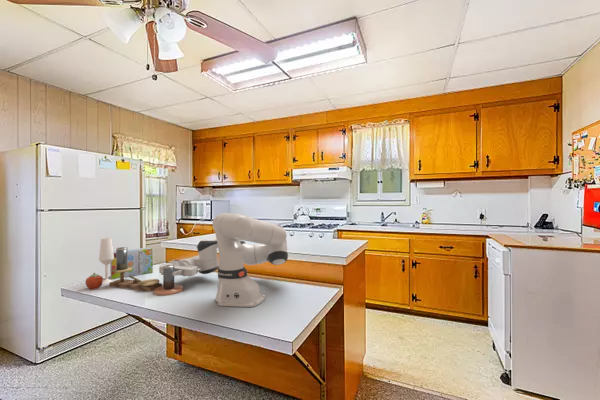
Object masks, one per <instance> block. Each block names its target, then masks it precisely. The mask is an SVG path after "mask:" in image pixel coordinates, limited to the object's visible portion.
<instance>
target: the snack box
mask: <svg viewBox="0 0 600 400" xmlns="http://www.w3.org/2000/svg"><path fill="white" fill-rule="evenodd" d="M113 254H114V259H113V261H112V262H111V263H110V264H109V265H110V271H109V272H110V278H111V280H114V278H115V279H120V273H113V272H112V270H113V269H115V268H116V250H113ZM153 265H154V263H153V248H152V247H144V248H143V247H141V248H133V249H128V267H132V270H131V271H128V272H124V278H126V277H129V276H130V275H131V276H133V277H134V276H139V275H145V274H151V273H153V272H154V269H153V268H154V266H153Z"/></svg>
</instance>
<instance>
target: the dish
mask: <svg viewBox="0 0 600 400" xmlns="http://www.w3.org/2000/svg"><path fill="white" fill-rule="evenodd" d="M183 291H184V286H183V285H181V284H178V283H177V284H176V283H174V288H173V289H170V290H164V289H163V285H162V286H160V287H158V288H156V289H155V290H154V291H153V294H154V295H156V296H172V295H175V294H176V295H177V294H179V293H180V292H183Z"/></svg>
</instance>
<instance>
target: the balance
mask: <svg viewBox="0 0 600 400" xmlns="http://www.w3.org/2000/svg"><path fill="white" fill-rule="evenodd" d="M131 270H132V267H128V269H126V270H116V268H115V269H113V270H112V272H113V273H120V278H118V279H117V280H112V281H113V282H110V283H109V284H108V285H109V287H110V286H111V287H112V288H120V289H126V288H127V289H128V290H134V291H143V292H154V290H155V289H156V288H158V287H160V286H163V282H160V280H159V279H158V278H150V279H145V280H140V279H139V278H137V277H134V276H131V275H130V276H128V278H129V279H127V278H125V277H124V272H128V271H131ZM127 289H126V290H127Z"/></svg>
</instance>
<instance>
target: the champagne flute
mask: <svg viewBox="0 0 600 400" xmlns="http://www.w3.org/2000/svg"><path fill="white" fill-rule="evenodd" d="M112 240H113V238H112V237H102V238H101V239H100V246H99V255H98V256H99V257H98V261H99V262H100V263H101V264H103V265H104V267H105V268H104V269H105V270H104V273H105V278H104V279H103V283H102V285H108V284H107V283H110V282H113V281H114V280H113V279H109V265H110V263H111V262H112V261H113V259H114V254H113V251H114V247H113V241H112Z"/></svg>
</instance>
